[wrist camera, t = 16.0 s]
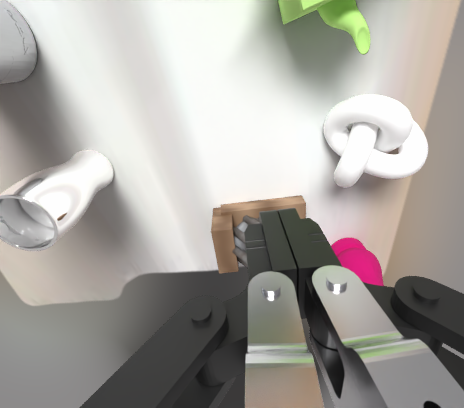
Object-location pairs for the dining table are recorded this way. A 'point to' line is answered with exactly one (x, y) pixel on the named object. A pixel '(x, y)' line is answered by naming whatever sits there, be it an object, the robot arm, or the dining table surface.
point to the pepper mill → (358, 260)
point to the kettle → (331, 17)
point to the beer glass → (52, 200)
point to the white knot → (374, 139)
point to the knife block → (243, 227)
